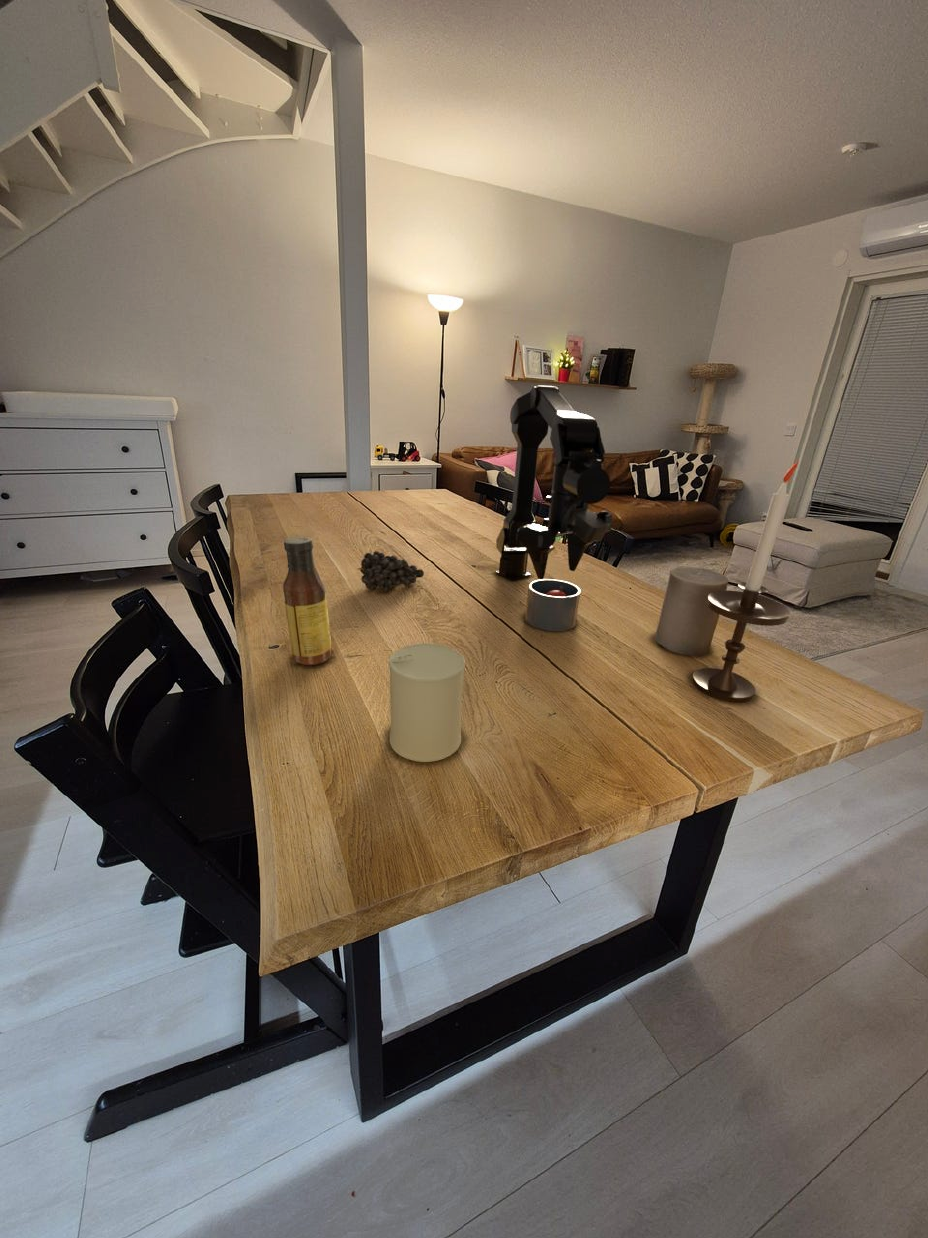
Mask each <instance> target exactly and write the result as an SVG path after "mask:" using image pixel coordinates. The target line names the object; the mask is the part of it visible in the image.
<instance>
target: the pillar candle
mask: <svg viewBox="0 0 928 1238" xmlns="http://www.w3.org/2000/svg"><path fill="white" fill-rule="evenodd" d="M728 586H729V578H728V577H727V576H726V575H724V574H722V573H720V572H719V571H715V570H713V569H708V568H704V567H699V566H688V565H687V566H685V565H683V566H676V567H671V568H670V569H669V576H668V579H667V584H666V589H665V593H664V597H663V601H662V605H661V608H660V609H661V610H660V614H659V619H658V622H657V626H656V627H657V628H656V631H655V636H654V641H655V642H656V643H657V644H658V645H660V646H662V647H663V648H665V649H666V650H668V651H670V652H672V653H676V654H679V655H685V656H702V655H705V654H707V653H709V652H710V648H711V645H712V641H713V638H714V635H715V631H716V628H717V626H718V625H717V624H718V621H719V618H720V616H721V615H720V614H718V613H716V612H714V611H712V610H711V609H710V608H709V607H708V606H707V603H706V602H707V599H708V595H709V594H710V593H712V592H715V591H727V589H728Z"/></svg>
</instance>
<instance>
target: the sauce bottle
mask: <svg viewBox="0 0 928 1238" xmlns="http://www.w3.org/2000/svg"><path fill="white" fill-rule="evenodd" d="M313 543H314V542H313V539H312V538H310V537H308V536H293V537H288V538H286V539H284V540H283V547H284V548H283V549H284V551H285V552H286V558H287V559H286V560H287V568H288V571H287V574H286V577H285V579H284V581H283V585H282V589H283V594H284V606H285V607H284V608H285V614H286V615H285V616H286V620H287V628H288V633H289V642H290V648H291V653H292V657H293V660H294V661H295V662H296V663H297V664H300V665H303V666H317V665H320V664H323V663H325V662H327V661H328V660H329V659H330V658H331V656H332V638H331V628H330V619H329V618H330V617H329V610H328V602H327V595H326V594H327V593H326V592H327V591H326V588H325V586H324V584H323V582H322V579H321V577H320V575H319V572H318V570H317V568H316V566H315V561H314V554H313V549H314V544H313Z"/></svg>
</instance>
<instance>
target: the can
mask: <svg viewBox="0 0 928 1238" xmlns="http://www.w3.org/2000/svg"><path fill="white" fill-rule="evenodd" d="M465 666H466V660H465V657H464V656H463V654H462V653H460V652H459V650H457V649H455V648H454V647H453V648H452V647H451V646H448V645H444V644H440V643H432V642H431V643H430V642H421V643H414V644H409V645H405V646H403V647H400V648H398V649H397V650H395V651H394V652H393V653H392V654H391V655H390V657H389V659H388V667H389V695H390V698H389V699H390V700H389V701H390V733H389V738H388V739H389V740H388V741H389V745H390V747H391V749H392V750H393V751H394V752H395V753H396V754H398V756H400V757H402V758H404V759H406V760H410V761H412V762H413V761H414V762H419V763H431V762H437V761H441V760H443V759H446V758H448V757H450V756H452V755H453V754H454V753H456V752H457V750H459V748H460V745H461V743H462V734H461V733H462V730H461V729H462V728H461V727H462V726H461V725H462V709H463V708H462V706H463V694H464V693H463V691H464V677H465V668H466V667H465Z"/></svg>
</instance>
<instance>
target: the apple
mask: <svg viewBox="0 0 928 1238" xmlns="http://www.w3.org/2000/svg"><path fill="white" fill-rule="evenodd" d="M562 588H563V587H560V589H559V590H552V591H549V592H547V593H546V594H545V595H548V596H555V597H567V595H566V594H565V593H564V592H562Z"/></svg>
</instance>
